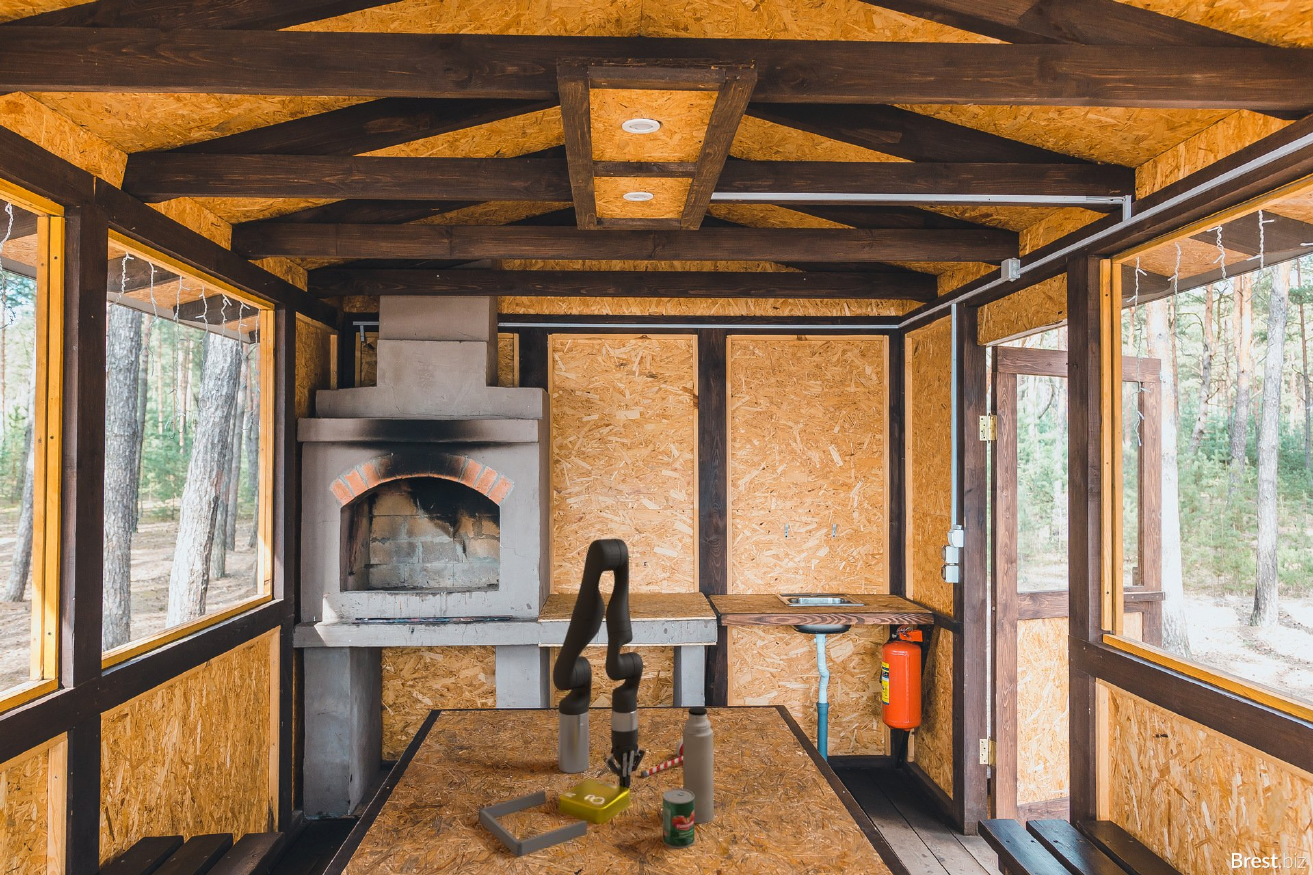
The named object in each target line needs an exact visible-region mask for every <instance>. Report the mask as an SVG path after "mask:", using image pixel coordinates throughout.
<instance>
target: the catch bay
mask: <svg viewBox="0 0 1313 875" xmlns="http://www.w3.org/2000/svg"><path fill="white" fill-rule="evenodd" d="M546 794H547V793H546V791H545V790H541V791H537V792H534V793H530V794H527V795H523V796H520V797H516V798H512V799H509V800H507V801H506V800H505V801H502V802H500V803H496V804H492V805H489V806H485V807H482V808H479V809H478V822H479V823H480V824H482V825H483V826H484V827H485V829H486V830H488V831H489V832H490V833H491V834H492V835H493V836H495V838H496V839H497V840H498V841H499V842H500V843H502V844H503V845H504V846H505V847H506V848H507V849H509V851H511V852H512V853H513V854H514V855H515V856H516V857H517V858H520V857H522V856H525V855H528V854H531V853H534V852H538V851H540V850H543V849H546V848H549V847H552V846H554V845H555V846H556V845H558V844H561V843H564V842H567V841H571V840H572V839H576V838H579V837H581V836H585V835H587V834H588V821H585V820H582V821H579V822H575V823H573V824H569V825H566V826H563V827H559V828H557V829H554V830H551V831H548V832H545V833H542V834H538V835H536V836H532V837H529V838H527V839H523V840H519V839H518V838H517V837H516V836H515V835H513V834H512V833H511V832H510V831H509V830H508V829H506V827H505V826H503V825H502V824H501V823H500V822H498V820H496V818H499V817H503V816H507V815H509V814H513V813H516V812H519V811H522V810H526V809H531V808H532V807H536V806H539V805H542V804H546V802H547V801H546V798H547V797H546Z"/></svg>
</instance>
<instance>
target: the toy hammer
mask: <svg viewBox="0 0 1313 875" xmlns="http://www.w3.org/2000/svg"><path fill="white" fill-rule="evenodd" d="M675 753H676V756H677V757H676V758H674V759H672V760H669V761H667V762H665V763H663V764H660V765H657V766H654V767H652V768H650V769H648V770H643V771H640V776H641V778H644V779H646V778H648V776H650V775H653V774H655V773H657V772H659V771H661V770H664V769H667V768H670V767H671V766H674V765H675V764H679V763H681V762H683V737H682V738H681V739H680V740H679V741H678V742H677V744H676V746H675ZM714 755H715V754H714V753H713V761H714V760H715V759H714V757H715V756H714Z"/></svg>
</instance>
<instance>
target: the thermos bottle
mask: <svg viewBox="0 0 1313 875" xmlns="http://www.w3.org/2000/svg"><path fill="white" fill-rule="evenodd" d="M707 714H708V709H707V708H705V707H701V706H693V707H690V708H688V719H686V721H685V724H684V728H683V730H682V738H683V761H682V776H683V777H682V786H683V787H682V789H686V790H689V791H691V792H693V793H694V823H695V824H706V823H709V822H711V821H713V819H714V815H715V814H714V811H715V810H714V807H715V806H714V804H715V803H714V802H715V801H714V760H713V754H714V731H713V729H712V728H711V725H712V724H711V721H710V720H709V719H708V717H707V716H708V715H707Z"/></svg>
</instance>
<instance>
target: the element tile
mask: <svg viewBox="0 0 1313 875" xmlns="http://www.w3.org/2000/svg"><path fill="white" fill-rule="evenodd" d="M630 806H631V789H630V788H626V787H622V786H620V785H618V784H613V783H610V782H606V781H602V780H599V779H594V778H588V779H587V778H586V780H583V781H582V782H580V783H578V784H576V785H574V787H572V788H569V789H568V790H566V791H565V792H563V793H561V794H560V795H559V796H558V812H559V814H562V815H565V816H568V817H572V818H575V819H578V820H582V821H584V820H585V821H586V822H587V823H588V822H589V823H592V824H596V825H601V824H605V823H607V822H609V821H610V820H611V819H613V818H614V817H616V816H617V815H619V814H620V813H621V812H623V811H625V810H626V809H627V808H628V807H630Z"/></svg>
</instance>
